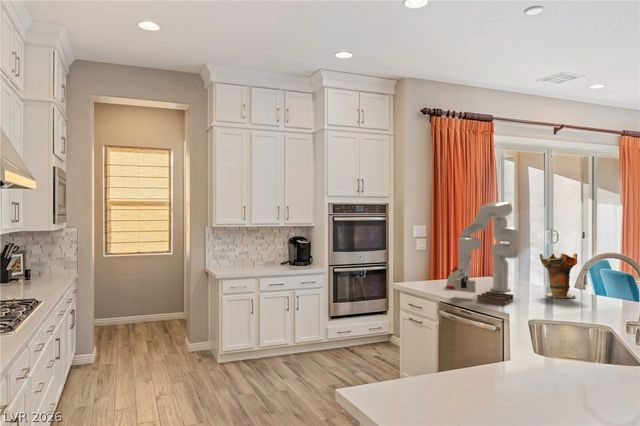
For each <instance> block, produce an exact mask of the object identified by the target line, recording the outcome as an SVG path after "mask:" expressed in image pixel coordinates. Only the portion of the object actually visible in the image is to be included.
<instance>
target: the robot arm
mask: <svg viewBox="0 0 640 426" xmlns="http://www.w3.org/2000/svg"><path fill="white" fill-rule="evenodd" d="M512 212H513V206H512V204H511V203H510V202H506V201H504V202H503V201H502V202H501V201H500V202H498V201H497V202H496V201H495V202H493V201H492V202H488V203H486V204H483V205H481V206H480V208H479V210H478V211H477V214H476V215H475V218H474V220H473V222H472V223H470V224H469V225H468V226H466V227H465V228H464V229H463V230H462V231H461V233H460V235H459V237H458V240H457V252H458V253H457V259H458V260H457V261H458V263H457V266H458V276H460V279H461V288H466V280H470V279H469V277H470V276H471V272H472V271H471V261H472V250H478V249H480V248H481V246H482V240H481V239H480V238H479V237H478V236H477V237H475V236H472V235H473V234H476V233H478V232H481V231H484V230H486V229H487V227H488V224H489V223H490V220H491V219H492V222H493V238H494V241H496V242H497V243H493V245H492V246H491V255H492V286H491V287H490V290H491V291H495V292H510V291H511V288H510V287H509V262H508V260H507V259H517V258H518V257H519V255H520V234H519V231H518V229H517V228H515V227H508V221H507V220H508V219H507V217H508V216H509V215H511V213H512ZM506 216H507V217H506ZM500 242H502V243H500ZM503 242H505V243H503ZM506 242H508V243H506Z"/></svg>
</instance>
